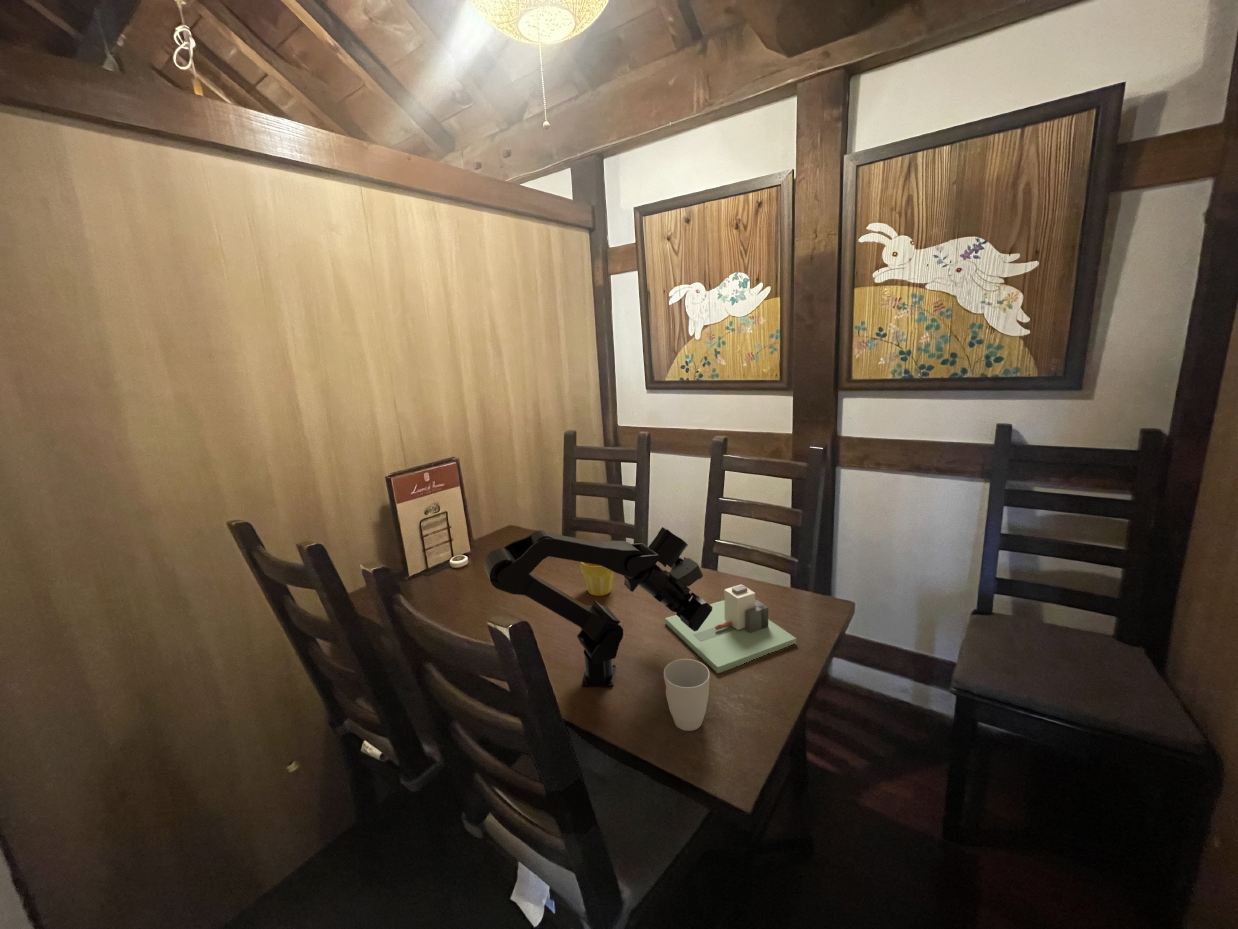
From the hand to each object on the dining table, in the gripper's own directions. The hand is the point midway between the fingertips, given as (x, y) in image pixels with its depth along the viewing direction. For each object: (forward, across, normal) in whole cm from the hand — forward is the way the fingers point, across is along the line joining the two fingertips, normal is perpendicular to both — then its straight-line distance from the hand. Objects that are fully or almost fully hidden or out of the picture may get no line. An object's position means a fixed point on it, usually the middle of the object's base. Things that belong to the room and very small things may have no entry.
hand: (701, 616), depth 113 cm
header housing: (+13, 0, -6) cm, 14 cm away
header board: (+10, 0, -1) cm, 10 cm away
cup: (-6, -19, +16) cm, 26 cm away
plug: (+9, 0, -3) cm, 10 cm away
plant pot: (-2, +35, +12) cm, 38 cm away
